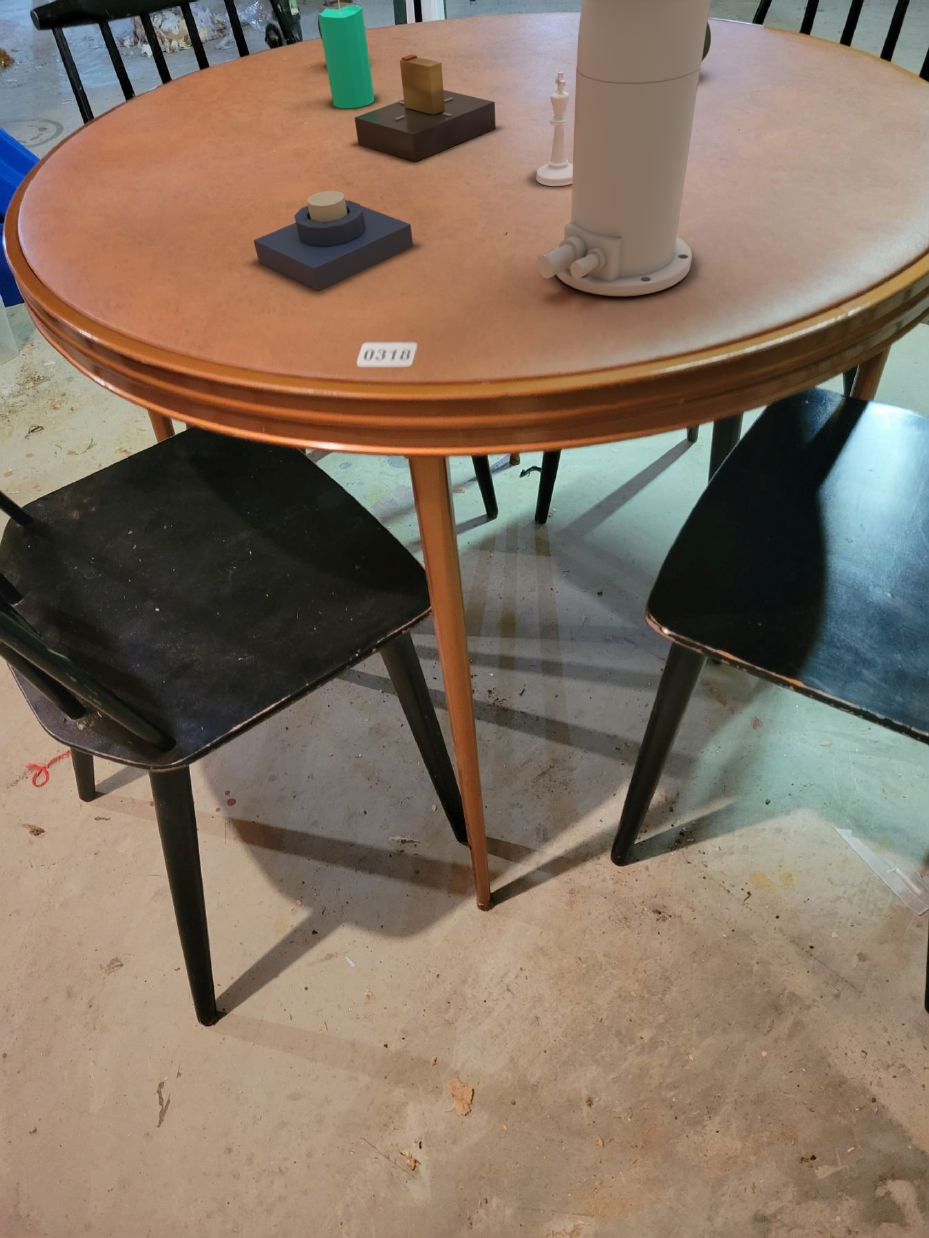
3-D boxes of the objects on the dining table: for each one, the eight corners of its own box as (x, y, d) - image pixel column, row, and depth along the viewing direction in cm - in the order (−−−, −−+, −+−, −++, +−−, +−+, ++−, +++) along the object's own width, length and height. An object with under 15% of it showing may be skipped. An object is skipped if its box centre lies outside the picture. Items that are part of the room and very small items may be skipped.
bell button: (325, 228, 73) (321, 208, 72) (303, 219, 75) (299, 199, 74) (355, 215, 75) (351, 196, 73) (332, 206, 76) (328, 187, 75)
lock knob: (445, 110, 96) (441, 60, 92) (433, 115, 95) (429, 64, 91) (416, 103, 98) (411, 53, 94) (404, 107, 98) (399, 58, 94)
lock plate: (415, 162, 93) (412, 132, 91) (358, 144, 99) (353, 116, 96) (495, 128, 99) (494, 100, 97) (437, 113, 105) (435, 86, 102)
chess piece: (545, 189, 85) (546, 82, 77) (530, 174, 88) (529, 70, 81) (586, 181, 86) (592, 74, 78) (570, 167, 89) (574, 63, 81)
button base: (318, 291, 72) (309, 248, 69) (259, 262, 77) (247, 221, 74) (413, 246, 77) (408, 204, 74) (351, 222, 83) (344, 181, 80)
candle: (380, 95, 112) (367, -10, 103) (366, 109, 108) (350, 1, 99) (342, 95, 113) (325, -9, 104) (326, 108, 109) (308, 2, 100)
